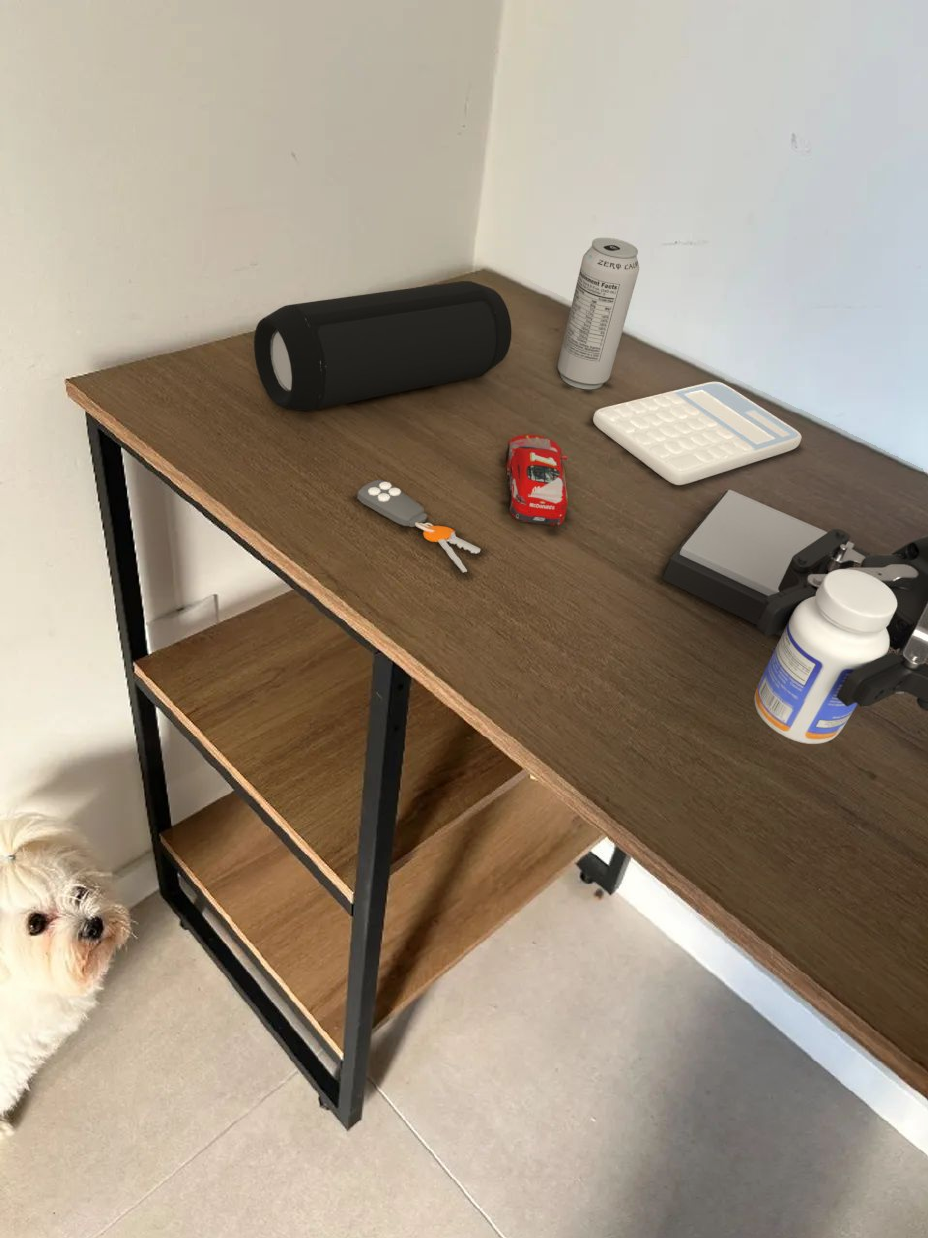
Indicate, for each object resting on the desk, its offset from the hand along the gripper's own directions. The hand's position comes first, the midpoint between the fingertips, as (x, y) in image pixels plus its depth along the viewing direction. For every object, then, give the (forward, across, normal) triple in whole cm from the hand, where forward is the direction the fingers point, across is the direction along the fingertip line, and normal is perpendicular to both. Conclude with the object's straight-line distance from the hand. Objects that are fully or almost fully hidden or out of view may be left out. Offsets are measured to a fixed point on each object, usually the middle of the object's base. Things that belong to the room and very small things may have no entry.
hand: (806, 654), depth 51 cm
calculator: (-34, -38, +15) cm, 53 cm away
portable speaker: (-6, -57, +15) cm, 59 cm away
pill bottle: (-3, 0, +6) cm, 7 cm away
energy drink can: (-30, -52, +15) cm, 62 cm away
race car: (-11, -36, +15) cm, 40 cm away
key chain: (+2, -35, +15) cm, 38 cm away
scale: (-23, -17, +15) cm, 32 cm away
